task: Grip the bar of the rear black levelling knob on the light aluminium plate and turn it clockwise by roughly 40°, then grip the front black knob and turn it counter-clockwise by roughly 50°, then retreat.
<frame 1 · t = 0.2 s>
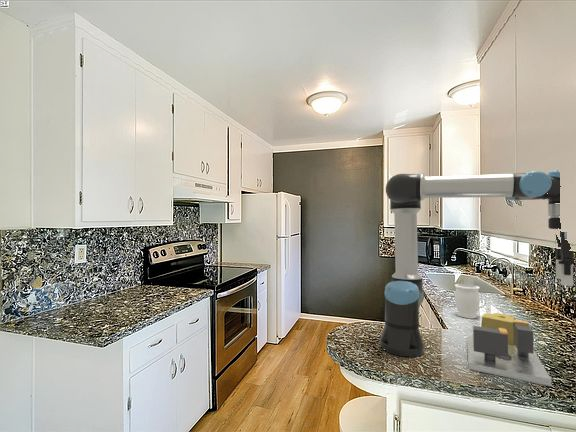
hand: (563, 282, 99), 27 cm above the countertop, fingers open, 13 cm apart
knob b: (522, 339, 101), point 7 cm above the countertop, hinge at 0.0°
knob a: (489, 343, 98), point 7 cm above the countertop, hinge at 0.0°
cheese: (499, 342, 118), on the countertop
level plate: (502, 361, 101), on the countertop
jar: (467, 316, 150), on the countertop
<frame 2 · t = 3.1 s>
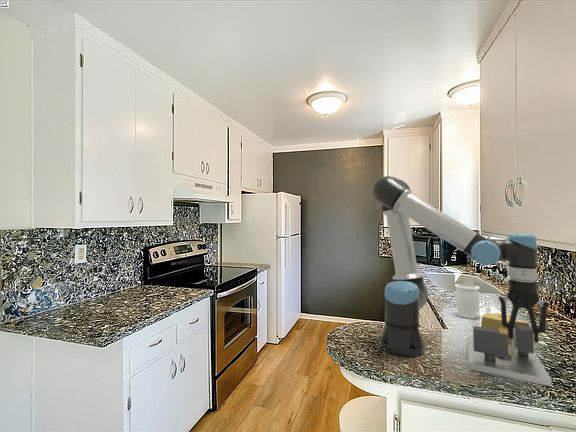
hand: (522, 349, 101), 4 cm above the countertop, fingers closed on knob b, 4 cm apart
knob b: (522, 339, 101), point 7 cm above the countertop, hinge at 0.0°, touching gripper
everything else where it was.
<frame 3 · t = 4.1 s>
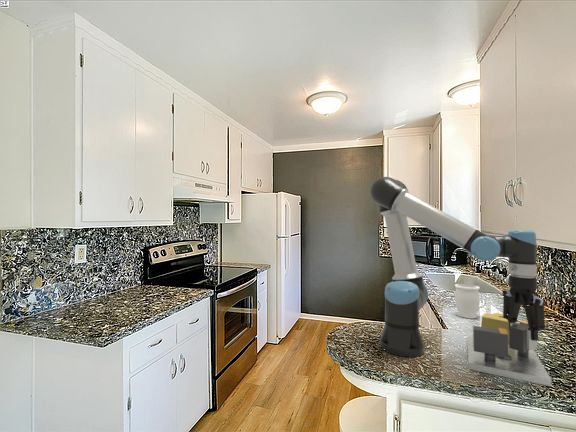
hand: (522, 345, 101), 5 cm above the countertop, fingers open, 5 cm apart
knob b: (522, 339, 101), point 7 cm above the countertop, hinge at -30.9°, touching gripper
everything else where it was.
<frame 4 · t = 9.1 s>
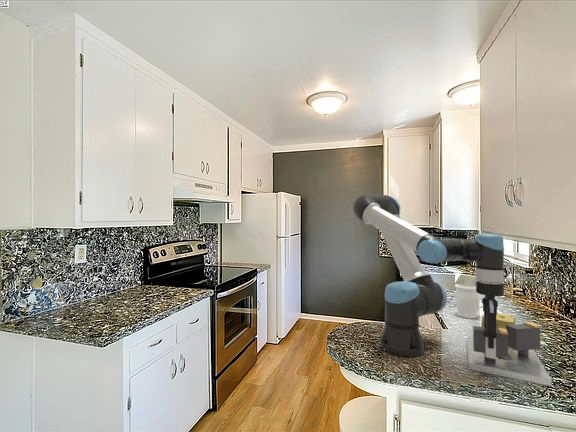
hand: (489, 354, 97), 4 cm above the countertop, fingers closed on knob a, 4 cm apart
knob b: (522, 339, 101), point 7 cm above the countertop, hinge at -51.7°
knob a: (489, 343, 98), point 7 cm above the countertop, hinge at 0.0°, touching gripper
everything else where it was.
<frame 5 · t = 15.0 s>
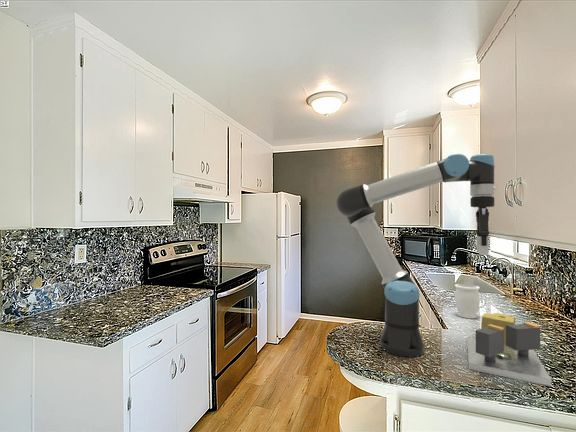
hand: (482, 253, 112), 35 cm above the countertop, fingers open, 13 cm apart
knob a: (489, 343, 98), point 7 cm above the countertop, hinge at 58.8°
everything else where it was.
at the end: knob a at +59° (first picture: +0°); knob b at -52° (first picture: +0°) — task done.
